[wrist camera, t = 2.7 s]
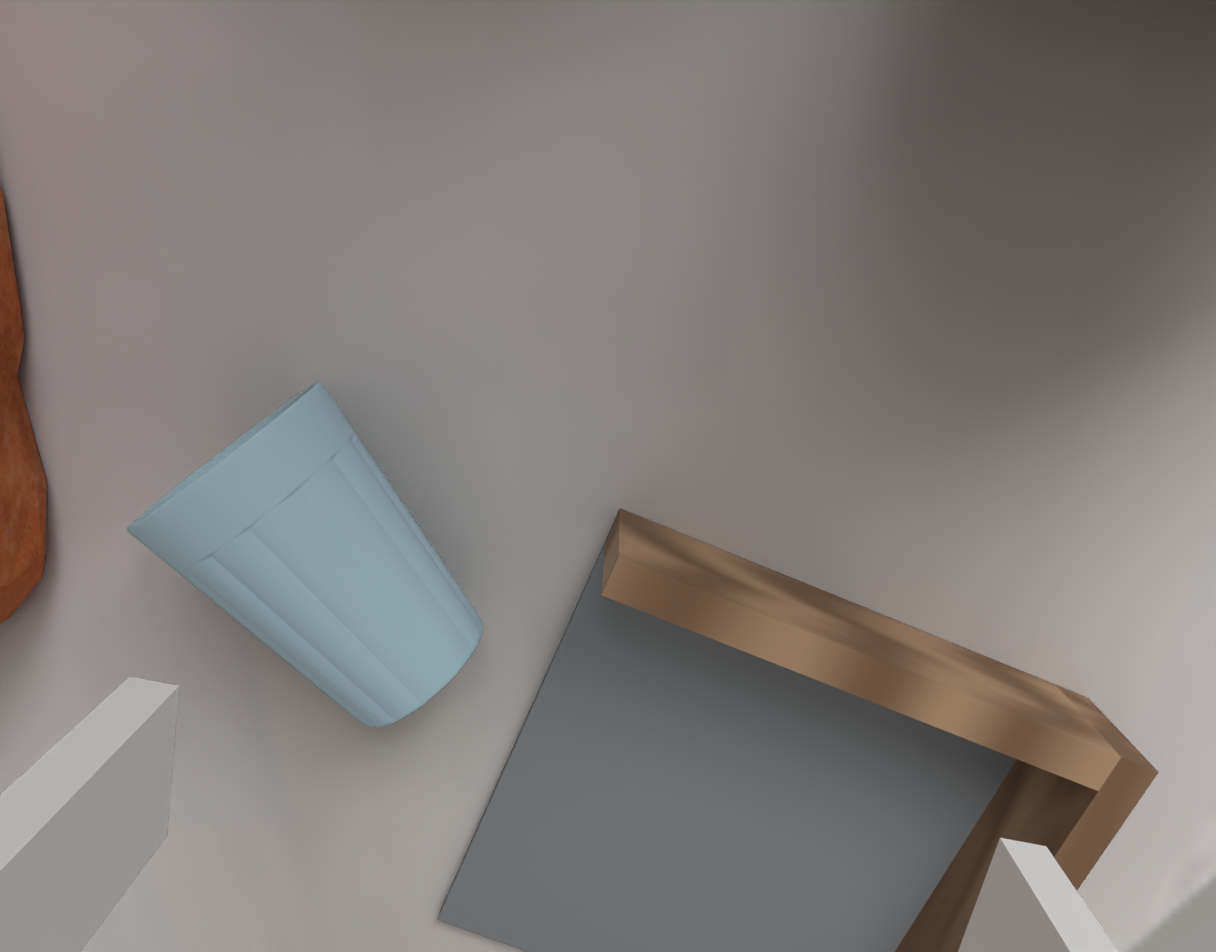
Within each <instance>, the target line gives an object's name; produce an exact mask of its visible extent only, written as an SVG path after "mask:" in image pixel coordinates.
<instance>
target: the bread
mask: <svg viewBox="0 0 1216 952" xmlns="http://www.w3.org/2000/svg"><path fill="white" fill-rule="evenodd" d="M23 344H24V331H23V324H22V317H21V309H20V302H19V296H18V289H17V282H16V276H15V269H14V263H13V256H12V250H11V243H10V237H9V230H8V224H7V217H6V211H5V204H4V197H3V193H2V191H1V189H0V623H2V622H3V621H5V620H7V619H8V618H10V616H11V615H12V614H13V613H14V612H15V610H16V609H17V608H18V607H19V606H20V604H21V603H22V602H23V601H24V600H25V598H26V597H27V596H28V595H29V594H30V592H31V591H32V590H33V589H34V588H35V586H36V585H37V584H38V583H39V582H40V580H41V579H42V575H43V570H44V564H45V559H46V514H47V481H46V477H45V474H44V470H43V466H42V463H41V459H40V455H39V452H38V448H37V445H36V441H35V437H34V434H33V430H32V426H31V423H30V419H29V415H28V412H27V408H26V404H25V401H24V397H23V393H22V390H21V386H20V382H19V379H18V375H17V373H18V369H19V364H20V359H21V354H22V349H23Z"/></svg>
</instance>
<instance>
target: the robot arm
mask: <svg viewBox="0 0 1216 952" xmlns="http://www.w3.org/2000/svg"><path fill="white" fill-rule="evenodd" d="M178 695H179V686H178V685H172V684H167V683H161V682H156V681H151V680H145V679H140V678H134V677H129V678H128V679H126V680H125V681H124V682H123V683H122V684H121V685H120V686H119V687H118V688H117V689H116V690H114V691H113V692H112V693H111V694H110V695H109V696H108V697H107V698H106V699H105V700H103V701H102V702H101V703H100V704H99V705H98V706H97V707H96V708H95V709H94V710H92V711H91V712H90V713H89V714H88V715H87V716H86V717H85V718H84V719H83V720H82V721H80V722H79V723H78V724H77V725H76V726H75V727H74V728H73V729H72V730H71V731H69V732H68V733H67V734H66V735H65V736H64V737H63V738H62V739H61V740H60V741H59V742H57V743H56V744H55V745H54V746H53V747H52V748H51V749H50V750H49V751H48V752H46V753H45V754H44V755H43V756H42V757H41V758H40V759H39V760H38V761H37V762H36V763H34V764H33V765H32V766H31V767H30V768H29V769H28V770H27V771H26V772H25V773H23V774H22V775H21V776H20V777H19V778H18V779H17V780H16V781H15V782H14V783H12V784H11V785H10V786H9V787H8V788H7V789H6V790H5V791H4V792H3V793H2V794H0V952H81V950H82V949H83V948H84V946H85V945H86V944H87V942H88V941H89V940H90V938H91V937H92V936H93V934H94V933H95V932H96V930H97V929H98V928H99V926H100V925H101V924H102V922H103V921H104V920H105V918H106V917H107V916H108V914H109V913H110V912H111V910H112V909H113V908H114V906H115V905H116V904H117V902H118V901H119V900H120V898H121V897H122V896H123V894H124V893H125V892H126V890H127V889H128V888H129V886H130V885H131V884H132V882H133V881H134V880H135V878H136V877H137V876H138V874H139V873H140V872H141V870H142V869H143V868H144V866H145V865H146V864H147V862H148V861H149V860H150V858H151V857H152V856H153V854H154V853H155V852H156V850H157V849H158V848H159V846H160V845H161V844H162V842H163V841H164V840H165V838H166V837H167V833H168V820H169V808H170V795H171V783H172V770H173V758H174V745H175V733H176V720H177V708H178ZM958 952H1118V951H1117V949H1116V948H1115V946H1114V945H1113V944H1112V942H1111V941H1110V939H1109V938H1108V936H1107V935H1106V933H1105V932H1104V930H1103V929H1102V927H1101V926H1100V924H1099V923H1098V921H1097V920H1096V919H1095V917H1094V916H1093V914H1092V913H1091V911H1090V910H1089V908H1088V907H1087V905H1086V904H1085V902H1084V901H1083V899H1082V898H1081V896H1080V895H1079V894H1078V892H1077V891H1076V889H1075V888H1074V886H1073V885H1072V883H1071V882H1070V880H1069V879H1068V877H1067V876H1066V874H1065V873H1064V872H1063V870H1062V869H1061V867H1060V866H1059V864H1058V863H1057V861H1056V860H1055V858H1054V857H1053V855H1052V854H1051V852H1050V851H1049V849H1048V848H1047V847H1046V846H1042V845H1037V844H1031V843H1026V842H1021V841H1015V840H1010V839H1004V838H1000V839H999V842H998V845H997V847H996V850H995V853H994V855H993V858H992V861H991V864H990V866H989V869H988V872H987V874H986V877H985V880H984V883H983V885H982V888H981V891H980V893H979V896H978V899H977V901H976V904H975V907H974V910H973V912H972V915H971V918H970V920H969V923H968V926H967V929H966V931H965V934H964V937H963V939H962V942H961V945H960V947H959V950H958Z"/></svg>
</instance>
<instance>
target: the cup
mask: <svg viewBox="0 0 1216 952" xmlns="http://www.w3.org/2000/svg"><path fill="white" fill-rule="evenodd" d="M127 531H128V532H129V533H130V534H132V535H133V536H134V537H135V538H137V539H138V540H139V541H140V542H141V543H143V544H144V545H145V546H146V547H147V548H149V549H150V550H151V551H152V552H154V553H155V554H156V555H157V556H158V557H160V558H161V559H162V560H163V561H165V562H166V563H167V564H168V565H169V566H171V567H172V568H173V569H174V570H175V571H177V572H178V573H180V574H181V575H182V576H183V577H184V578H186V579H187V580H188V581H189V582H191V583H192V584H193V585H194V586H195V587H197V588H198V589H199V590H200V591H201V592H203V593H204V594H205V595H206V596H208V597H209V598H210V599H211V600H212V601H214V602H215V603H216V604H217V605H219V606H220V607H221V608H222V609H223V610H225V611H226V612H227V613H228V614H229V615H231V616H232V617H233V618H234V619H236V620H237V621H238V622H239V623H240V624H242V625H243V626H244V627H245V628H247V629H248V630H249V631H250V632H251V633H253V634H254V635H255V636H256V637H257V638H259V639H260V640H261V641H262V642H264V643H265V644H266V645H267V646H268V647H270V648H271V649H272V650H273V651H275V652H276V653H277V654H278V655H279V656H281V657H282V658H283V659H284V660H285V661H287V662H288V663H289V664H290V665H292V666H293V667H294V668H295V669H296V670H298V671H299V672H300V673H301V674H303V675H304V676H305V677H306V678H307V679H309V680H310V681H311V682H312V683H314V684H315V685H316V686H317V687H318V688H320V689H321V690H322V691H323V692H324V693H326V694H327V695H328V696H329V697H331V698H332V699H333V700H334V701H335V702H337V703H338V704H339V705H340V706H342V707H343V708H344V709H345V710H346V711H348V712H349V713H350V714H352V715H353V716H354V717H355V718H357V719H358V720H359V721H360V722H362V723H363V724H364V725H366V726H368V727H383V726H386V725H390V724H392V723H394V722H397V721H398V720H400V719H402V718H404V717H406V716H407V715H409V714H411V713H412V712H414V711H415V710H417V709H418V708H419V707H421V706H422V705H424V704H425V703H426V702H427V701H428V700H430V699H431V698H432V697H433V696H435V695H436V694H437V693H438V692H439V691H440V690H441V689H442V688H443V687H444V686H446V685H447V684H448V683H449V682H450V681H451V679H452V678H453V677H454V676H455V675H456V674H457V673H458V672H459V671H460V669H461V668H462V667H463V666H464V664H465V663H466V662H467V660H468V659H469V658H470V656H471V655H472V653H473V652H474V650H475V648H476V646H477V644H478V642H479V640H480V638H481V634H482V628H483V624H482V620H481V618H480V617H479V615H478V614H477V612H476V610H475V609H474V607H473V606H472V604H471V603H470V601H469V600H468V598H467V597H466V596H465V594H464V593H463V591H462V590H461V588H460V587H459V585H458V584H457V582H456V581H455V579H454V578H453V576H452V575H451V573H450V572H449V570H448V569H447V567H446V566H445V564H444V563H443V562H442V560H441V559H440V557H439V556H438V554H437V553H436V551H435V550H434V548H433V547H432V545H431V544H430V542H429V541H428V539H427V538H426V536H425V535H424V533H423V532H422V531H421V529H420V528H419V526H418V525H417V523H416V522H415V520H414V519H413V517H412V516H411V514H410V513H409V511H408V510H407V508H406V507H405V505H404V504H403V503H402V501H401V500H400V498H399V497H398V495H397V494H396V492H395V491H394V489H393V488H392V486H391V485H390V483H389V482H388V480H387V479H386V477H385V476H384V474H383V473H382V472H381V470H380V469H379V467H378V466H377V464H376V463H375V461H374V460H373V458H372V457H371V455H370V454H369V452H368V451H367V449H366V448H365V446H364V445H363V444H362V442H361V441H360V439H359V438H358V436H357V435H356V433H355V432H354V430H353V428H352V427H351V425H350V424H349V422H348V421H347V419H346V418H345V416H344V415H343V413H342V412H341V410H340V409H339V407H338V406H337V404H336V403H335V402H334V400H333V399H332V397H331V396H330V394H329V393H328V391H327V390H326V388H325V387H324V385H323V384H322V383H321V382H320V381H319V382H316V383H314V384H313V385H311V386H310V387H308V388H307V389H305V390H304V391H302V392H301V393H299V394H298V395H296V396H295V397H294V398H292V399H291V400H289V401H288V402H287V403H285V404H284V405H283V406H281V407H280V408H278V409H277V410H276V411H274V412H273V413H272V414H270V415H269V416H268V417H266V418H265V419H264V420H262V421H261V422H259V423H258V424H257V425H255V426H254V427H253V428H251V429H250V430H249V431H247V432H246V433H245V434H244V435H242V436H241V437H240V438H238V439H237V440H236V441H234V442H233V443H232V444H230V445H229V446H228V447H226V448H225V449H224V450H222V451H221V452H220V453H219V454H217V455H216V456H215V457H213V458H212V459H211V460H209V461H208V462H207V463H206V464H204V465H203V466H202V467H200V468H199V469H198V470H197V471H195V472H194V473H193V474H191V475H190V476H189V477H188V478H186V479H185V480H184V481H183V482H181V483H180V484H179V485H178V486H176V487H175V488H174V489H173V490H171V491H170V492H169V493H168V494H166V495H165V496H164V497H162V498H161V499H160V500H159V501H157V502H156V503H155V504H154V505H153V506H151V507H150V508H149V509H148V510H147V511H145V512H144V513H143V514H142V515H141V516H139V517H138V518H137V519H136V520H135V521H134V522H133V523H131V525H130V526H129V527H128V528H127Z"/></svg>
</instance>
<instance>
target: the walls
mask: <svg viewBox="0 0 1216 952" xmlns="http://www.w3.org/2000/svg"><path fill="white" fill-rule="evenodd" d="M601 595H602V596H605V597H607V598H610V599H612V600H615V601H617V602H620V603H622V604H625V605H628V606H630V607H633V608H635V609H638V610H640V611H643V612H645V613H648V614H650V615H653V616H655V617H658V618H661V619H663V620H666V621H668V622H671V623H673V624H676V625H678V626H681V627H683V628H686V629H688V630H691V631H693V632H696V633H699V634H701V635H704V636H706V637H709V638H711V639H714V640H716V641H719V642H721V643H724V644H726V645H729V646H731V647H734V648H737V649H739V650H742V651H744V652H747V653H749V654H752V655H754V656H757V657H759V658H762V659H764V660H767V661H769V662H772V663H775V664H777V665H780V666H782V667H785V668H787V669H790V670H792V671H795V672H797V673H800V674H802V675H805V676H808V677H810V678H813V679H815V680H818V681H820V682H823V683H825V684H828V685H830V686H833V687H835V688H838V689H840V690H843V691H846V692H848V693H851V694H853V695H856V696H858V697H861V698H863V699H866V700H868V701H871V702H873V703H876V704H878V705H881V706H884V707H886V708H889V709H891V710H894V711H896V712H899V713H901V714H904V715H906V716H909V717H911V718H914V719H917V720H919V721H922V722H924V723H927V724H929V725H932V726H934V727H937V728H939V729H942V730H944V731H947V732H949V733H952V734H955V735H957V736H960V737H962V738H965V739H967V740H970V741H972V742H975V743H977V744H980V745H982V746H985V747H987V748H990V749H993V750H995V751H998V752H1000V753H1003V754H1005V755H1008V756H1010V757H1013V758H1015V759H1017V760H1016V761H1015V763H1014V764H1013V766H1012V768H1011V769H1010V771H1009V772H1008V774H1007V775H1006V777H1005V779H1004V780H1003V782H1002V783H1001V785H1000V787H999V788H998V790H997V791H996V793H995V794H994V796H993V798H992V799H991V801H990V802H989V804H988V805H987V807H986V809H985V810H984V812H983V813H982V815H981V816H980V818H979V820H978V821H977V823H976V824H975V826H974V828H973V829H972V831H971V832H970V834H969V835H968V837H967V839H966V840H965V842H964V843H963V845H962V846H961V848H960V850H959V851H958V853H957V854H956V856H955V858H954V859H953V861H952V862H951V864H950V865H949V867H948V869H947V870H946V872H945V873H944V875H943V876H942V878H941V880H940V881H939V883H938V884H937V886H936V887H935V889H934V891H933V892H932V894H931V895H930V897H929V899H928V900H927V902H926V903H925V905H924V906H923V908H922V910H921V911H920V913H919V914H918V916H917V917H916V919H915V921H914V922H913V924H912V925H911V927H910V928H909V930H908V932H907V933H906V935H905V936H904V938H903V940H902V941H901V943H900V944H899V946H898V947H897V949H896V951H895V952H958V950H959V947H960V945H961V942H962V939H963V937H964V934H965V931H966V929H967V926H968V923H969V920H970V918H971V915H972V912H973V910H974V907H975V904H976V901H977V899H978V896H979V893H980V891H981V888H982V885H983V883H984V880H985V877H986V874H987V872H988V869H989V866H990V864H991V861H992V858H993V855H994V853H995V850H996V847H997V845H998V842H999V839H1000V838H1004V839H1010V840H1015V841H1021V842H1026V843H1031V844H1037V845H1042V846H1046V847H1047V848H1048V849H1049V851H1050V852H1051V854H1052V855H1053V857H1054V858H1055V860H1056V861H1057V863H1058V864H1059V866H1060V867H1061V869H1062V870H1063V872H1064V873H1065V874H1066V876H1067V877H1068V879H1069V880H1070V882H1071V883H1072V885H1073V886H1074V888H1075V889H1076V891H1077V890H1078V888H1079V887H1080V885H1081V884H1082V883H1083V881H1084V880H1085V878H1086V877H1087V875H1088V874H1089V872H1090V871H1091V869H1092V868H1093V867H1094V865H1095V864H1096V862H1097V861H1098V859H1099V858H1100V856H1101V855H1102V854H1103V852H1104V851H1105V849H1106V848H1107V846H1108V845H1109V843H1110V842H1111V840H1112V839H1113V838H1114V836H1115V835H1116V833H1117V832H1118V830H1119V829H1120V827H1121V826H1122V825H1123V823H1124V822H1125V820H1126V819H1127V817H1128V816H1129V814H1130V813H1131V811H1132V810H1133V809H1134V807H1135V806H1136V804H1137V803H1138V801H1139V800H1140V798H1141V797H1142V796H1143V794H1144V793H1145V791H1146V790H1147V788H1148V787H1149V785H1150V784H1151V782H1152V781H1153V780H1154V778H1155V777H1156V775H1157V774H1158V771H1157V770H1156V769H1155V768H1154V767H1153V766H1152V765H1151V764H1150V763H1149V761H1148V760H1147V759H1146V758H1145V757H1144V756H1143V755H1142V754H1141V753H1140V752H1139V751H1138V750H1137V749H1136V748H1135V747H1134V746H1133V745H1132V744H1131V742H1130V741H1129V740H1128V739H1127V738H1126V737H1125V736H1124V735H1123V734H1122V733H1121V732H1120V731H1119V730H1118V729H1117V728H1116V727H1115V726H1114V724H1113V723H1112V722H1111V721H1110V720H1109V719H1108V718H1107V717H1106V716H1105V715H1104V714H1103V713H1102V712H1101V711H1100V710H1099V709H1098V708H1097V707H1096V705H1095V704H1094V703H1093V702H1092V701H1091V700H1090V699H1089V698H1087V697H1084V696H1082V695H1079V694H1077V693H1074V692H1072V691H1069V690H1067V689H1065V688H1062V687H1060V686H1057V685H1055V684H1052V683H1050V682H1047V681H1045V680H1042V679H1040V678H1037V677H1035V676H1032V675H1030V674H1027V673H1025V672H1023V671H1020V670H1018V669H1015V668H1013V667H1010V666H1008V665H1005V664H1003V663H1000V662H998V661H995V660H993V659H990V658H988V657H985V656H983V655H980V654H978V653H976V652H973V651H971V650H968V649H966V648H963V647H961V646H958V645H956V644H953V643H951V642H948V641H946V640H943V639H941V638H938V637H936V636H934V635H931V634H929V633H926V632H924V631H921V630H919V629H916V628H914V627H911V626H909V625H906V624H904V623H901V622H899V621H896V620H894V619H892V618H889V617H887V616H884V615H882V614H879V613H877V612H874V611H872V610H869V609H867V608H864V607H862V606H859V605H857V604H854V603H852V602H850V601H847V600H845V599H842V598H840V597H837V596H835V595H832V594H830V593H827V592H825V591H822V590H820V589H817V588H815V587H812V586H810V585H808V584H805V583H803V582H800V581H798V580H795V579H793V578H790V577H788V576H785V575H783V574H780V573H778V572H775V571H773V570H770V569H768V568H766V567H763V566H761V565H758V564H756V563H753V562H751V561H748V560H746V559H743V558H741V557H738V556H736V555H733V554H731V553H728V552H726V551H724V550H721V549H719V548H716V547H714V546H711V545H709V544H706V543H704V542H701V541H699V540H696V539H694V538H691V537H689V536H686V535H684V534H682V533H679V532H677V531H674V530H672V529H669V528H667V527H664V526H662V525H659V524H657V523H654V522H652V521H649V520H647V519H644V518H642V517H640V516H637V515H635V514H632V513H630V512H627V511H625V510H622V509H620V510H619V512H618V514H617V516H616V519H615V521H614V523H613V525H612V528H611V530H610V532H609V534H608V537H607V539H606V541H605V548H604V563H603V578H602V593H601Z"/></svg>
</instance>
